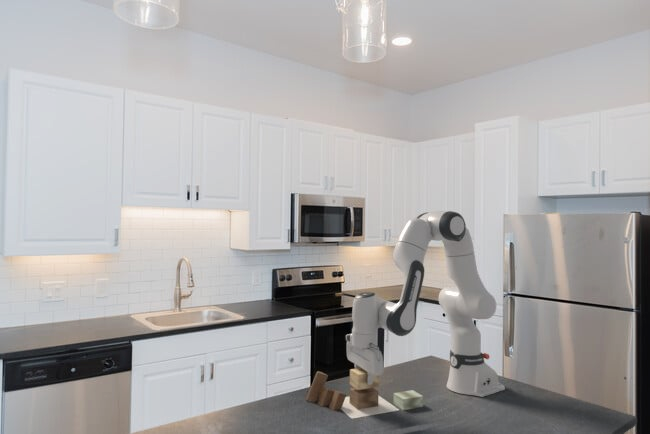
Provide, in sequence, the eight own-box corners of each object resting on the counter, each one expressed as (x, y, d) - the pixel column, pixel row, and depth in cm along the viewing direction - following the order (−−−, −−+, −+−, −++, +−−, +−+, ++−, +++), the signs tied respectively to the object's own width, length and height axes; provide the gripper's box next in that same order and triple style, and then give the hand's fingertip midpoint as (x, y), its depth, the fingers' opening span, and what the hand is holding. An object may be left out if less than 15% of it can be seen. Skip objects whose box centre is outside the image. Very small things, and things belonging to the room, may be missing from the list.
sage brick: (412, 404, 158) (412, 390, 158) (422, 410, 152) (423, 396, 153) (393, 407, 155) (393, 393, 155) (403, 414, 149) (403, 399, 149)
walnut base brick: (369, 399, 158) (369, 385, 158) (378, 406, 152) (378, 391, 153) (349, 403, 155) (349, 388, 155) (357, 409, 149) (357, 394, 149)
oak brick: (369, 381, 158) (369, 366, 158) (378, 386, 153) (378, 371, 153) (349, 384, 155) (349, 369, 155) (358, 389, 149) (358, 374, 149)
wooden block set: (342, 419, 150) (353, 389, 152) (322, 413, 146) (333, 382, 148) (316, 398, 166) (327, 371, 168) (297, 392, 162) (308, 365, 164)
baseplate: (374, 395, 165) (374, 392, 165) (399, 413, 149) (399, 410, 149) (329, 402, 158) (329, 399, 158) (351, 422, 142) (351, 418, 142)
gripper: (388, 346, 146) (388, 389, 145) (359, 332, 165) (358, 370, 164) (371, 348, 143) (371, 392, 143) (343, 334, 162) (343, 372, 162)
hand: (364, 380), depth 154 cm, fingers closed on oak brick, 6 cm apart
